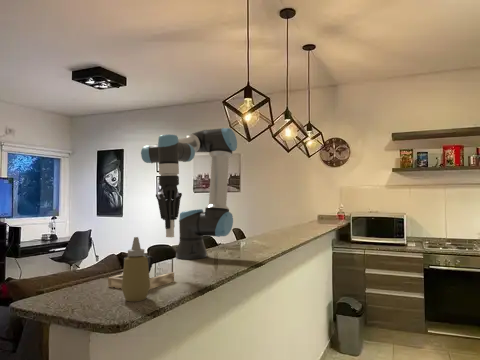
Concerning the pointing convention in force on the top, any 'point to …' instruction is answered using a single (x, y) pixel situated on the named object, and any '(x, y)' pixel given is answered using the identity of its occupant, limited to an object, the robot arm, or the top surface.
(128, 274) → the squeeze bottle
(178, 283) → the top surface
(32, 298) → the top surface
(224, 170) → the robot arm
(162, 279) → the tray
